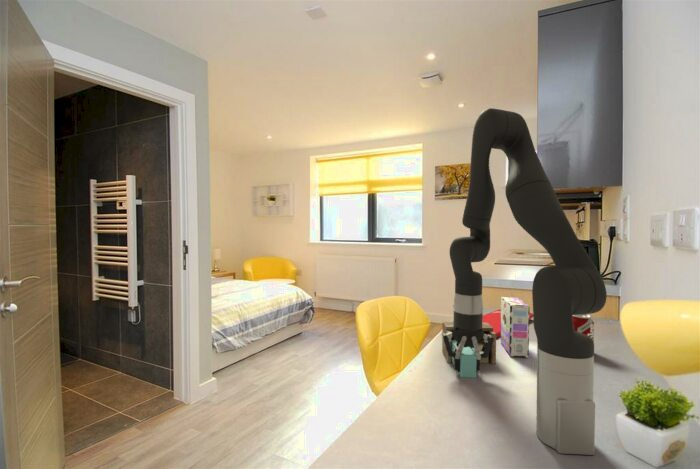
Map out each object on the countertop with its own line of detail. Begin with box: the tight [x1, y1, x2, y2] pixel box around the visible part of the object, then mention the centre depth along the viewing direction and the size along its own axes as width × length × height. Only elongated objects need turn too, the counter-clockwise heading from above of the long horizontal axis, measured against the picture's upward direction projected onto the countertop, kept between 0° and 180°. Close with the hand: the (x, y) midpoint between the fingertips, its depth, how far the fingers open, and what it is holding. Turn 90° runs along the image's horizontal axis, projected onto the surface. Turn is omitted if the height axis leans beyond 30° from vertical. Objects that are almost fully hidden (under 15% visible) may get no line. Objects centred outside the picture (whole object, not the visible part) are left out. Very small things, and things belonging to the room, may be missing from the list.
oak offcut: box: [478, 340, 489, 363], centre depth 110 cm, size 6×4×5 cm, turn 175°
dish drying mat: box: [482, 308, 533, 339], centre depth 146 cm, size 16×41×4 cm, turn 133°
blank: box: [451, 340, 477, 379], centre depth 102 cm, size 12×4×6 cm, turn 177°
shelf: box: [441, 321, 497, 365], centre depth 110 cm, size 9×14×10 cm, turn 85°
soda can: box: [572, 314, 595, 343], centre depth 115 cm, size 7×7×12 cm
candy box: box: [500, 296, 530, 359], centre depth 117 cm, size 14×6×16 cm, turn 168°
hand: (466, 371), depth 98 cm, fingers closed on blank, 4 cm apart
